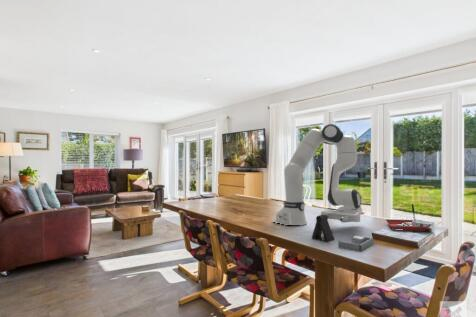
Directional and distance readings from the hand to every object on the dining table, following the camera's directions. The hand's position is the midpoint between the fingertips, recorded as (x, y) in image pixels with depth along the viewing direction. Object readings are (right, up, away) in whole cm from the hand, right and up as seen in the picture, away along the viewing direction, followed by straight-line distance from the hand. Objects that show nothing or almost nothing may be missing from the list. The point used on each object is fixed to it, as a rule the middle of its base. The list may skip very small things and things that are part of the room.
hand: (333, 218), depth 146 cm
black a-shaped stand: (-8, -9, -9) cm, 15 cm away
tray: (+3, -8, -20) cm, 22 cm away
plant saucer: (+44, -8, +9) cm, 46 cm away
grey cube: (+4, -8, -22) cm, 23 cm away
